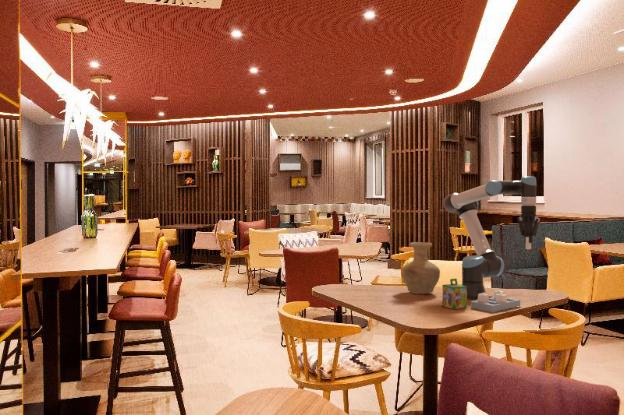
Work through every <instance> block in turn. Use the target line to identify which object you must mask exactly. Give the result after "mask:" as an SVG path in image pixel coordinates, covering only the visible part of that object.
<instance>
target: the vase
mask: <svg viewBox="0 0 624 415" xmlns="http://www.w3.org/2000/svg"><path fill="white" fill-rule="evenodd" d="M409 246H410V247H411V248H413V260H412V261H409V262H408V263H406V264H405V265H403V266H402V268H401V278H402V280H403V282H404V284H405V286H406V288H407V291H408V292H409V293H411V294H414V295H415V294H416V295H427V294H433V292H434V289H435V287H436V286H437V284H438V283H439V280H440V276H441V270H440V268H439V267H438V266H437V265H436V264H435V263H433V262H430V261H429V259H428V257H429V255H428V250H429V249H430V248H432V246H433V244H432V243H431V242H422V241H421V242H420V241H419V242H418V241H417V242H414V241H413V242H410V243H409Z"/></svg>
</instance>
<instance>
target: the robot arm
mask: <svg viewBox="0 0 624 415" xmlns="http://www.w3.org/2000/svg"><path fill="white" fill-rule="evenodd" d="M499 195H508V196H509V195H510V196H511V195H512V196H513V195H521V198H520V204H521V206H520V212H521V214H520V216H519V217H517V218H516V221H517V223H518V226H519V231H520V235H521V236H523V237H524V243H525V249H526V250H532V244H533V237H535V236H537V232H538V229H539V228H538V227H539V223H540V222H541V220H542V219H541V217H540V218H539V217H538V216H537V214H536V213H537V178H536V177H535V176H522V177H521V179H520V180H497V179H496V180H495V179H494V180H488V181H487V182H486V184H483V185H480V186H477V187H473V188H471V189H467V190H465V191H462V192H460V193H458V192H453V193H450V194H448V195H447V196H445V197H444V198H443V202H442V203H443V207H444V210H446V211H447V212H448V213H451V214H457V215H458V217H459V219H460V220H463V221H462V222H463V223H464V225H465V228H466V231H467V233H468V236H469V238H470V241H471V244H472V246H473V248H474V251H475V254H476V255H475V254H474V255H468V256H464V257H463V259H462V260H461V261H462V263H461V285H463V286H467V300H478V294H481V293H486V294H487V292H486V289H485V285H484V279H486V278H496V277H499V276H501V275H502V273H504V270H505V263H504V260H503V259H502V258H501V257H500V256H497V254H496V252H495V250H492V248H491V245H490V243H489V242H488V239H487V237H486V235H485V231H484V230H483V226H482V225H481V221H480V220H479V217H478V215H477V214H478V213H479V205H480V203H479V201H481V200H486V199H488V198H491V197H494V196H499Z"/></svg>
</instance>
